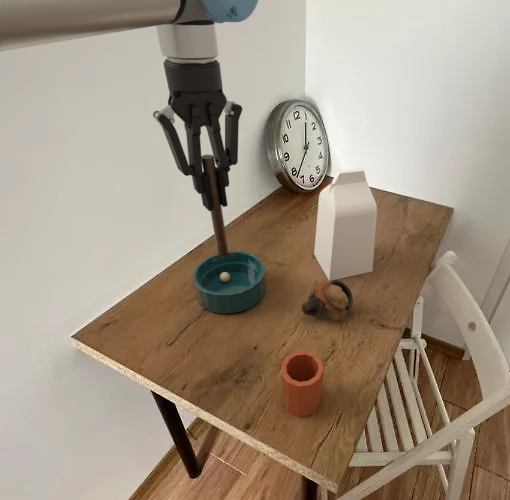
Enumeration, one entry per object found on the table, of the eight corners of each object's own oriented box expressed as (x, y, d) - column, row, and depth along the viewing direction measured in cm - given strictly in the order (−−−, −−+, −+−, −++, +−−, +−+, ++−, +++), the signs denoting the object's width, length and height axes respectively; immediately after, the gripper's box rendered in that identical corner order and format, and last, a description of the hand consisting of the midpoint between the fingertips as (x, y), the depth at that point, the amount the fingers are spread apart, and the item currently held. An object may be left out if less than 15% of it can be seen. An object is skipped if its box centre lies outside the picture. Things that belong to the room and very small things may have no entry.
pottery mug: (322, 289, 86) (341, 271, 81) (343, 323, 83) (364, 305, 78) (284, 304, 77) (303, 284, 72) (307, 342, 74) (328, 324, 69)
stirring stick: (220, 257, 69) (203, 159, 57) (216, 252, 70) (198, 155, 58) (230, 254, 70) (215, 157, 58) (225, 249, 71) (210, 153, 59)
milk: (329, 280, 88) (335, 185, 72) (314, 254, 96) (316, 163, 81) (372, 271, 92) (386, 178, 76) (354, 246, 100) (363, 158, 85)
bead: (223, 285, 83) (221, 277, 82) (218, 280, 84) (217, 272, 83) (232, 281, 84) (231, 274, 83) (227, 276, 86) (226, 268, 84)
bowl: (215, 326, 74) (211, 305, 70) (186, 286, 83) (181, 266, 79) (278, 295, 82) (277, 276, 79) (246, 262, 91) (244, 243, 88)
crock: (297, 424, 58) (297, 393, 53) (275, 395, 62) (273, 364, 57) (328, 401, 62) (331, 370, 57) (306, 375, 66) (306, 344, 61)
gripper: (229, 52, 56) (243, 187, 70) (125, 56, 48) (165, 208, 62) (252, 60, 52) (262, 202, 66) (142, 66, 43) (181, 227, 57)
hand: (215, 205), depth 64 cm, fingers closed on stirring stick, 2 cm apart
